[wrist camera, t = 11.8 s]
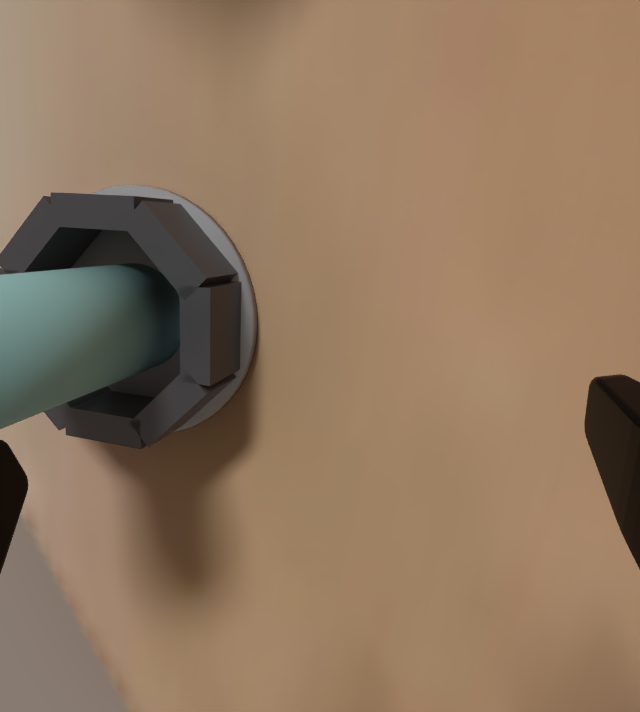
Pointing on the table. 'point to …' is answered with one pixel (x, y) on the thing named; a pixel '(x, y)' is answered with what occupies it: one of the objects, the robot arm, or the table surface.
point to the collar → (185, 273)
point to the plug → (80, 333)
